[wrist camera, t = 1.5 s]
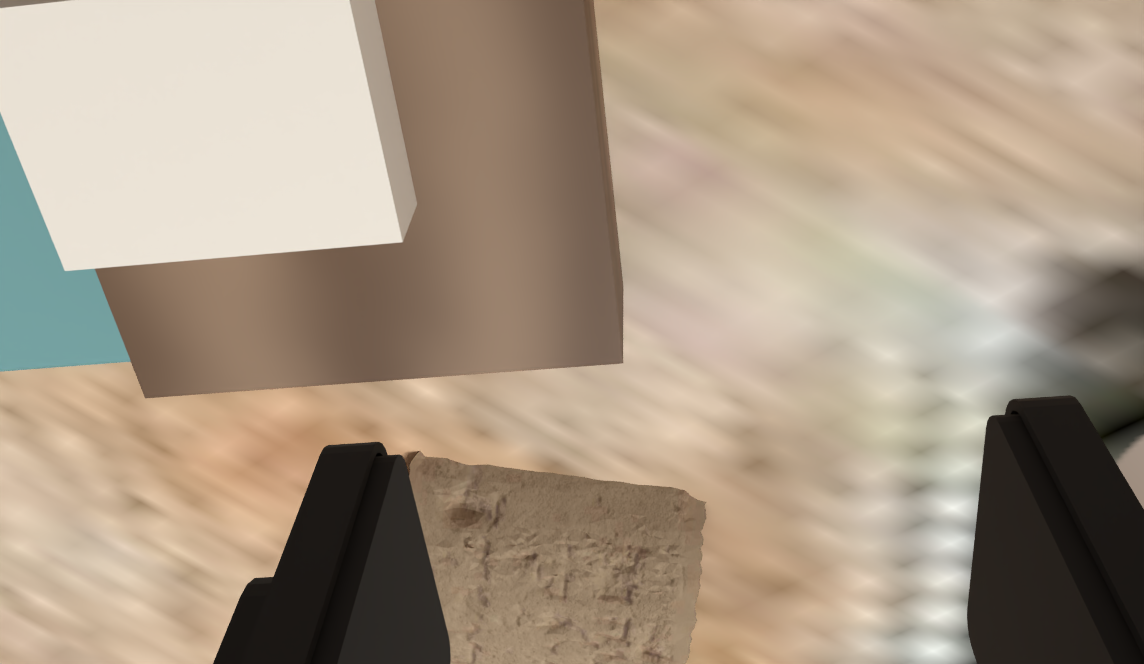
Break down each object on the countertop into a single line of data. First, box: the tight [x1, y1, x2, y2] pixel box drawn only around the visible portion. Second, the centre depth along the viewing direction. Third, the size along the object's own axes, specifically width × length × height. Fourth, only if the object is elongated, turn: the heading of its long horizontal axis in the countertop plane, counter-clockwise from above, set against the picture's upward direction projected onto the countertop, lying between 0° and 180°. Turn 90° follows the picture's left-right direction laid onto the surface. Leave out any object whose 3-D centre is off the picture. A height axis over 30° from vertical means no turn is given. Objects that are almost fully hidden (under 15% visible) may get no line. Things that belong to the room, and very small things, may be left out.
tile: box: [0, 0, 417, 271], centre depth 24 cm, size 8×6×2 cm
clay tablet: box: [409, 451, 706, 664], centre depth 38 cm, size 14×10×3 cm
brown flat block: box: [95, 0, 623, 398], centre depth 27 cm, size 13×16×4 cm
